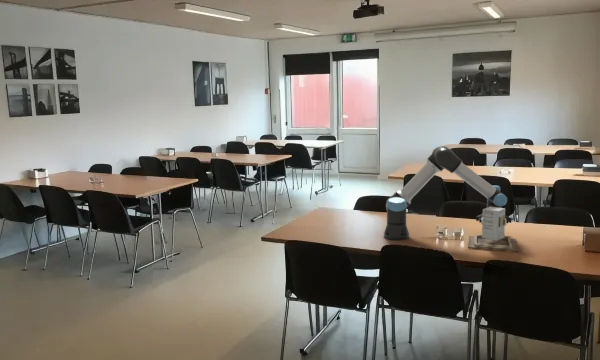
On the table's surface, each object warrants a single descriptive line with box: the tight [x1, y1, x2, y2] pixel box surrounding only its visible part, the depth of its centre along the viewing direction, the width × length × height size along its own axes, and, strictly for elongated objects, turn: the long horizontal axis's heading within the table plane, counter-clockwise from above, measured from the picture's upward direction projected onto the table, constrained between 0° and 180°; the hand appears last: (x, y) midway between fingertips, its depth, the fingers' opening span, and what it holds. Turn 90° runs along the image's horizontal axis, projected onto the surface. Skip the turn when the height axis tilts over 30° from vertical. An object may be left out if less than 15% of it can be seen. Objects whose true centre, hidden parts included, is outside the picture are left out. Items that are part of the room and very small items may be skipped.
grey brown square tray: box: [467, 234, 519, 253], centre depth 291 cm, size 26×24×2 cm
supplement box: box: [481, 207, 506, 240], centre depth 287 cm, size 10×9×17 cm
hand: (493, 222), depth 285 cm, fingers closed on supplement box, 12 cm apart
